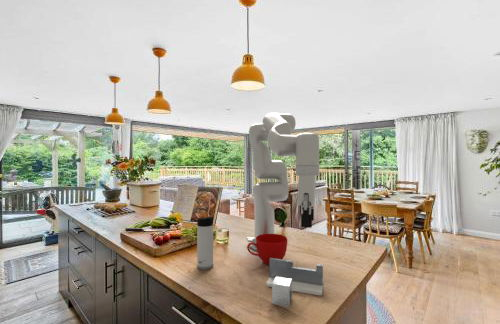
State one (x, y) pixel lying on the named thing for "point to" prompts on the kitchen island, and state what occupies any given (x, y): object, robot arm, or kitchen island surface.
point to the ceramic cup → (270, 247)
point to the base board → (301, 287)
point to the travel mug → (205, 243)
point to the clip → (282, 291)
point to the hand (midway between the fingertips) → (307, 223)
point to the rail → (296, 272)
